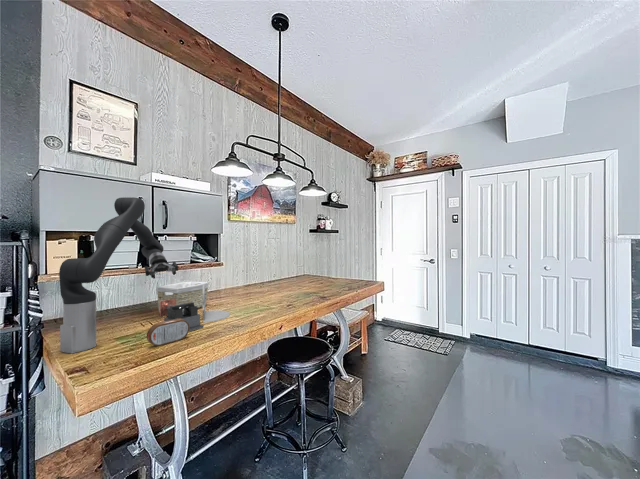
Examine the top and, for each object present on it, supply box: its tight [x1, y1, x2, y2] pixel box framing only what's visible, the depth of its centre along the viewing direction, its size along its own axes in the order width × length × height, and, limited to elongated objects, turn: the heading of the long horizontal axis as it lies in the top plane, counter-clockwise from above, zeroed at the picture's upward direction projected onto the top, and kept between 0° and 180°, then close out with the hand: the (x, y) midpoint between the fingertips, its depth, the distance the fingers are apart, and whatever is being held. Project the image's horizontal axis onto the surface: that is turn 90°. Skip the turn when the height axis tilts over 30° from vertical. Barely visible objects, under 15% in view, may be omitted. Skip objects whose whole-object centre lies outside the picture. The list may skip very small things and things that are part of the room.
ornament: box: [202, 285, 231, 324], centre depth 146 cm, size 22×13×17 cm, turn 21°
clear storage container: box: [156, 280, 209, 313], centre depth 160 cm, size 24×16×15 cm
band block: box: [163, 302, 204, 332], centre depth 123 cm, size 10×14×11 cm
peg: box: [159, 298, 187, 317], centre depth 127 cm, size 15×7×7 cm, turn 52°
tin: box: [146, 318, 190, 347], centre depth 108 cm, size 15×3×8 cm, turn 141°
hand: (164, 275), depth 134 cm, fingers open, 8 cm apart
